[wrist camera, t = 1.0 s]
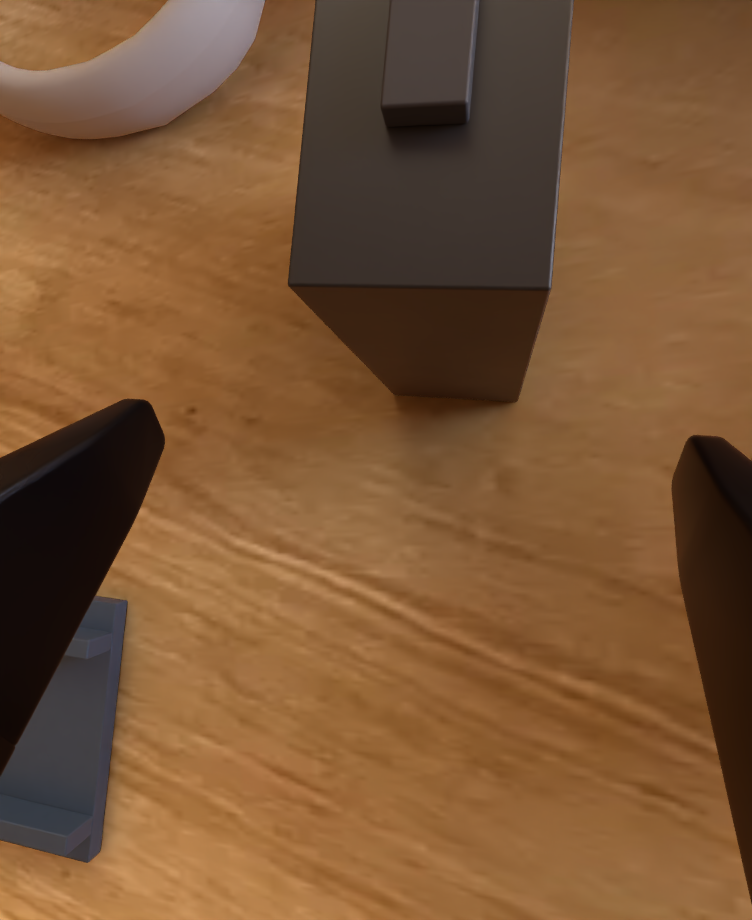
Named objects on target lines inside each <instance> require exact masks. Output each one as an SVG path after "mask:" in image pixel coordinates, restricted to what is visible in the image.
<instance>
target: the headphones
mask: <svg viewBox="0 0 752 920" xmlns="http://www.w3.org/2000/svg"><path fill="white" fill-rule="evenodd" d="M264 3H265V0H168V1H167V2H166V3H165V5H164V6H163V7H162V8H161V9H160V10H159V11H158V12H157V13H156V14H155V15H154V16H153V17H152V18H151V19H150V20H149V21H148V22H147V23H146V24H145V25H144V26H143V27H142V28H141V29H140V30H139V31H138V32H137V33H136V34H135V35H134V36H132V37H131V38H129V39H127V40H125V41H124V42H122V43H120V44H119V45H117V46H115V47H113V48H112V49H110V50H108V51H106V52H104V53H103V54H101V55H99V56H97V57H95V58H93V59H91V60H89V61H87V62H83V63H79V64H75V65H70V66H66V67H61V68H56V69H51V70H47V71H30V70H25V69H19V68H15V67H12V66H10V65H7V64H5V63H3V62H1V61H0V114H1V115H3V116H4V117H6V118H8V119H10V120H12V121H14V122H16V123H18V124H21V125H23V126H26V127H29V128H31V129H34V130H37V131H40V132H43V133H47V134H51V135H56V136H61V137H66V138H70V139H100V138H110V137H119V136H124V135H128V134H131V133H135V132H139V131H143V130H147V129H151V128H155V127H160V126H164V125H166V124H168V123H169V122H171V121H172V120H174V119H175V118H177V117H178V116H179V115H181V114H182V113H184V112H185V111H187V110H188V109H190V108H191V107H192V106H194V105H195V104H197V103H198V102H200V101H201V100H203V99H204V98H206V97H207V96H209V95H210V94H211V93H213V92H214V91H215V90H216V89H217V88H218V87H219V86H220V85H221V84H222V83H223V82H224V81H225V80H226V79H227V78H228V77H229V76H230V75H231V74H232V73H233V72H234V71H235V70H236V69H237V68H238V66H239V64H240V63H241V61H242V59H243V58H244V56H245V55H246V53H247V51H248V50H249V48H250V47H251V45H252V43H253V42H254V40H255V37H256V33H257V30H258V26H259V22H260V18H261V14H262V10H263V7H264Z"/></svg>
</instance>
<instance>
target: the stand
mask: <svg viewBox="0 0 752 920" xmlns="http://www.w3.org/2000/svg"><path fill="white" fill-rule="evenodd" d="M126 609H127V601H126V600H119V599H113V598H106V597H99V596H95V597H94V599H93V601H92V603H91V605H90V607H89V609H88V611H87V612H86V614H85V616H84V618H83V620H82V622H81V624H80V626H79V628H78V630H77V631H76V633H75V635H74V637H73V639H72V641H71V643H70V645H69V647H68V649H67V650H66V652H65V654H64V656H63V658H62V660H61V662H60V664H59V666H58V668H57V669H56V671H55V673H54V675H53V677H52V679H51V681H50V683H49V685H48V687H47V689H46V690H45V692H44V694H43V696H42V698H41V700H40V702H39V704H38V706H37V708H36V709H35V711H34V713H33V715H32V717H31V719H30V721H29V723H28V725H27V727H26V728H25V730H24V732H23V734H22V736H21V738H20V740H19V742H18V744H17V745H14V746H15V750H14V752H13V754H12V756H11V758H10V760H9V762H8V763H7V765H6V767H5V769H4V771H3V773H2V775H1V777H0V840H2V841H6V842H10V843H14V844H17V845H21V846H25V847H29V848H33V849H36V850H40V851H44V852H48V853H52V854H55V855H59V856H63V857H67V858H71V859H75V860H78V861H82V862H86V863H88V862H90V861H91V860H92V859H93V858H94V857H95V856H96V855H97V854H98V853H99V852H100V850H101V841H102V832H103V822H104V813H105V804H106V794H107V785H108V776H109V767H110V757H111V748H112V739H113V730H114V720H115V711H116V702H117V693H118V683H119V674H120V665H121V655H122V646H123V637H124V628H125V618H126Z"/></svg>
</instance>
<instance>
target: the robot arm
mask: <svg viewBox="0 0 752 920" xmlns="http://www.w3.org/2000/svg"><path fill="white" fill-rule="evenodd" d="M164 445H165V437H164V433H163V431H162V428H161V426H160V424H159V421H158V419H157V417H156V414H155V412H154V409H153V407H152V405H151V404H150V403H149V402H148V401H146V400H141V399H123V400H121V401H119V402H117V403H115V404H113V405H111V406H108V407H106V408H104V409H102V410H100V411H98V412H96V413H94V414H92V415H89V416H87V417H85V418H83V419H81V420H79V421H77V422H75V423H73V424H71V425H68V426H66V427H64V428H62V429H60V430H58V431H56V432H54V433H52V434H49V435H47V436H45V437H43V438H41V439H39V440H37V441H35V442H33V443H31V444H28V445H26V446H24V447H22V448H20V449H18V450H16V451H14V452H12V453H9V454H7V455H5V456H3V457H1V458H0V777H1V775H2V773H3V771H4V769H5V767H6V765H7V763H8V762H9V760H10V758H11V756H12V754H13V752H14V750H15V746H14V745H17V744H18V742H19V740H20V738H21V736H22V734H23V732H24V730H25V728H26V727H27V725H28V723H29V721H30V719H31V717H32V715H33V713H34V711H35V709H36V708H37V706H38V704H39V702H40V700H41V698H42V696H43V694H44V692H45V690H46V689H47V687H48V685H49V683H50V681H51V679H52V677H53V675H54V673H55V671H56V669H57V668H58V666H59V664H60V662H61V660H62V658H63V656H64V654H65V652H66V650H67V649H68V647H69V645H70V643H71V641H72V639H73V637H74V635H75V633H76V631H77V630H78V628H79V626H80V624H81V622H82V620H83V618H84V616H85V614H86V612H87V611H88V609H89V607H90V605H91V603H92V601H93V599H94V597H95V595H96V593H97V591H98V590H99V588H100V586H101V584H102V582H103V580H104V578H105V576H106V574H107V572H108V571H109V569H110V567H111V565H112V563H113V561H114V559H115V557H116V555H117V553H118V552H119V550H120V548H121V546H122V544H123V542H124V540H125V538H126V536H127V534H128V533H129V531H130V529H131V527H132V525H133V523H134V521H135V519H136V517H137V514H138V512H139V510H140V507H141V505H142V503H143V500H144V498H145V495H146V492H147V490H148V487H149V485H150V482H151V480H152V477H153V475H154V472H155V470H156V467H157V465H158V462H159V460H160V457H161V454H162V452H163V449H164ZM672 501H673V512H674V524H675V536H676V548H677V560H678V570H679V578H680V583H681V589H682V594H683V598H684V603H685V607H686V612H687V616H688V621H689V625H690V629H691V634H692V638H693V643H694V647H695V652H696V656H697V661H698V665H699V670H700V674H701V679H702V683H703V688H704V692H705V697H706V701H707V706H708V710H709V715H710V719H711V724H712V728H713V733H714V737H715V742H716V746H717V751H718V755H719V760H720V764H721V769H722V773H723V778H724V782H725V787H726V791H727V796H728V800H729V805H730V809H731V814H732V818H733V823H734V827H735V831H736V836H737V840H738V845H739V849H740V854H741V858H742V863H743V867H744V872H745V876H746V881H747V885H748V890H749V894H750V899H751V903H752V461H751V460H750V459H748V458H747V457H746V456H745V455H744V454H742V453H741V452H740V451H739V450H737V449H736V448H735V447H734V446H732V445H731V444H730V443H729V442H727V441H726V440H725V439H723V438H721V437H718V436H703V435H693V436H691V437H689V438H688V440H687V441H686V443H685V446H684V448H683V451H682V454H681V456H680V459H679V462H678V464H677V467H676V470H675V472H674V475H673V479H672Z"/></svg>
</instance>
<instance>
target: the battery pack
mask: <svg viewBox="0 0 752 920" xmlns="http://www.w3.org/2000/svg"><path fill="white" fill-rule="evenodd" d="M573 4H574V0H316V2H315V12H314V22H313V32H312V43H311V53H310V63H309V73H308V83H307V94H306V104H305V114H304V124H303V134H302V144H301V155H300V165H299V175H298V185H297V195H296V205H295V216H294V226H293V236H292V246H291V256H290V267H289V277H288V286H289V287H290V288H291V289H292V290H293V291H294V292H295V293H296V294H297V295H298V296H299V297H300V298H301V299H302V300H303V302H304V303H305V304H306V305H307V306H308V307H309V308H310V309H311V310H312V311H313V312H314V313H315V314H316V315H317V316H318V317H319V318H320V319H321V320H322V321H323V322H324V323H325V324H326V325H327V326H328V327H329V328H330V329H331V330H332V331H333V332H334V333H335V334H336V335H337V336H338V338H339V339H340V340H341V341H342V342H343V343H344V344H345V345H346V346H347V347H348V348H349V349H350V350H351V351H352V352H353V353H354V354H355V355H356V356H357V357H358V358H359V359H360V360H361V361H362V362H363V363H364V364H365V365H366V366H367V367H368V368H369V369H370V370H371V371H372V372H373V374H374V375H375V376H376V377H377V378H378V379H379V380H380V381H381V382H382V383H383V384H384V385H385V386H386V387H387V388H388V389H389V390H390V391H391V392H392V393H393V394H394V395H402V396H420V397H438V398H455V399H473V400H491V401H509V402H517V401H518V398H519V395H520V392H521V388H522V385H523V381H524V378H525V375H526V371H527V368H528V365H529V361H530V358H531V355H532V351H533V348H534V344H535V341H536V338H537V334H538V331H539V328H540V324H541V321H542V317H543V314H544V311H545V307H546V304H547V301H548V297H549V294H550V291H551V286H552V273H553V260H554V248H555V235H556V222H557V209H558V196H559V184H560V171H561V158H562V145H563V132H564V120H565V107H566V94H567V81H568V68H569V56H570V43H571V30H572V17H573Z"/></svg>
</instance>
